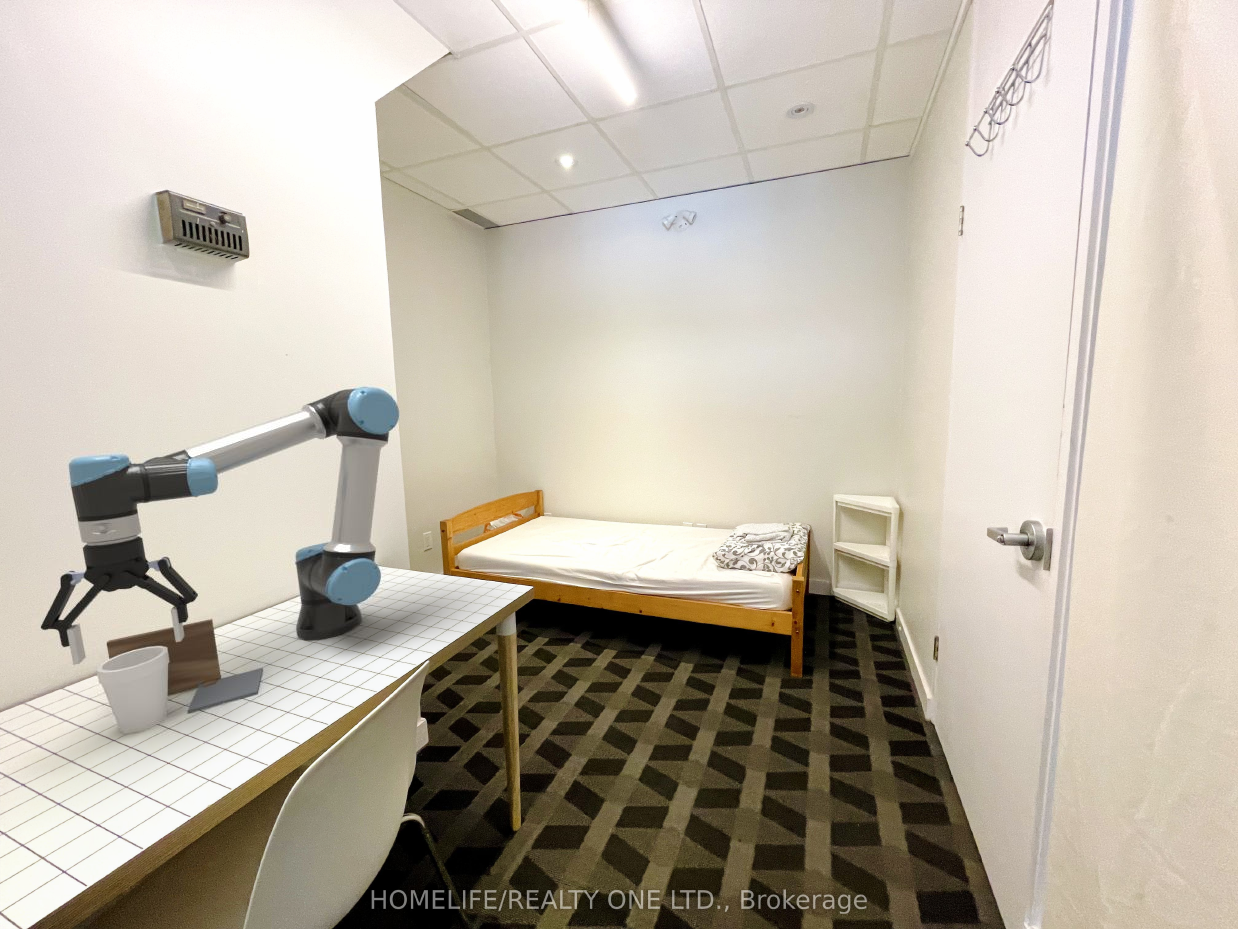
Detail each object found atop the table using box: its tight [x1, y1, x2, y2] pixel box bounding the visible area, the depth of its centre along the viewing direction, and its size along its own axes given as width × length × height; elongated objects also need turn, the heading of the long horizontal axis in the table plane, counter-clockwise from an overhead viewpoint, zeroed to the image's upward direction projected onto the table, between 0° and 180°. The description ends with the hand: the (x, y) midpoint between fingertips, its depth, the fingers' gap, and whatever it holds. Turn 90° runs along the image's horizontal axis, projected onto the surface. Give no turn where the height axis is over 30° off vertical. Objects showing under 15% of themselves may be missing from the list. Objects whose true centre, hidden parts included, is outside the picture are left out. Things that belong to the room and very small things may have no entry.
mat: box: [186, 667, 264, 714], centre depth 100 cm, size 11×11×1 cm
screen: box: [106, 618, 222, 697], centre depth 99 cm, size 5×16×14 cm, turn 122°
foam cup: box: [96, 646, 169, 735], centre depth 90 cm, size 10×9×13 cm
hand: (132, 649), depth 89 cm, fingers open, 13 cm apart
